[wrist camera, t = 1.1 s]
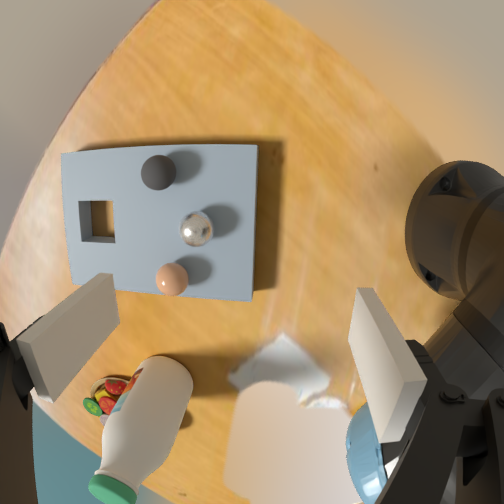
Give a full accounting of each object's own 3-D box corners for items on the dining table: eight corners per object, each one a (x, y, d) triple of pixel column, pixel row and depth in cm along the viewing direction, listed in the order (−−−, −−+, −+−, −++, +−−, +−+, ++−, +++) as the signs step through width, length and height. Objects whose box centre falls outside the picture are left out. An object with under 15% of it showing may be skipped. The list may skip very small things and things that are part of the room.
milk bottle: (166, 344, 37) (97, 472, 18) (206, 386, 38) (166, 517, 19) (129, 367, 39) (59, 477, 20) (166, 404, 40) (119, 518, 21)
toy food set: (189, 421, 41) (184, 436, 38) (138, 442, 45) (132, 455, 42) (122, 360, 39) (113, 374, 36) (80, 390, 42) (71, 402, 39)
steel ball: (217, 208, 29) (210, 215, 26) (217, 242, 30) (210, 252, 27) (183, 207, 29) (173, 214, 26) (184, 240, 30) (174, 250, 27)
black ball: (181, 154, 28) (169, 154, 25) (180, 188, 29) (169, 192, 26) (149, 155, 28) (134, 155, 25) (149, 188, 29) (135, 192, 26)
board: (258, 145, 29) (257, 144, 27) (253, 291, 34) (251, 301, 31) (73, 152, 31) (61, 153, 28) (83, 276, 35) (72, 284, 33)
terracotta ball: (192, 259, 31) (182, 270, 28) (193, 289, 32) (184, 303, 29) (161, 257, 31) (149, 268, 28) (163, 286, 32) (152, 300, 29)
